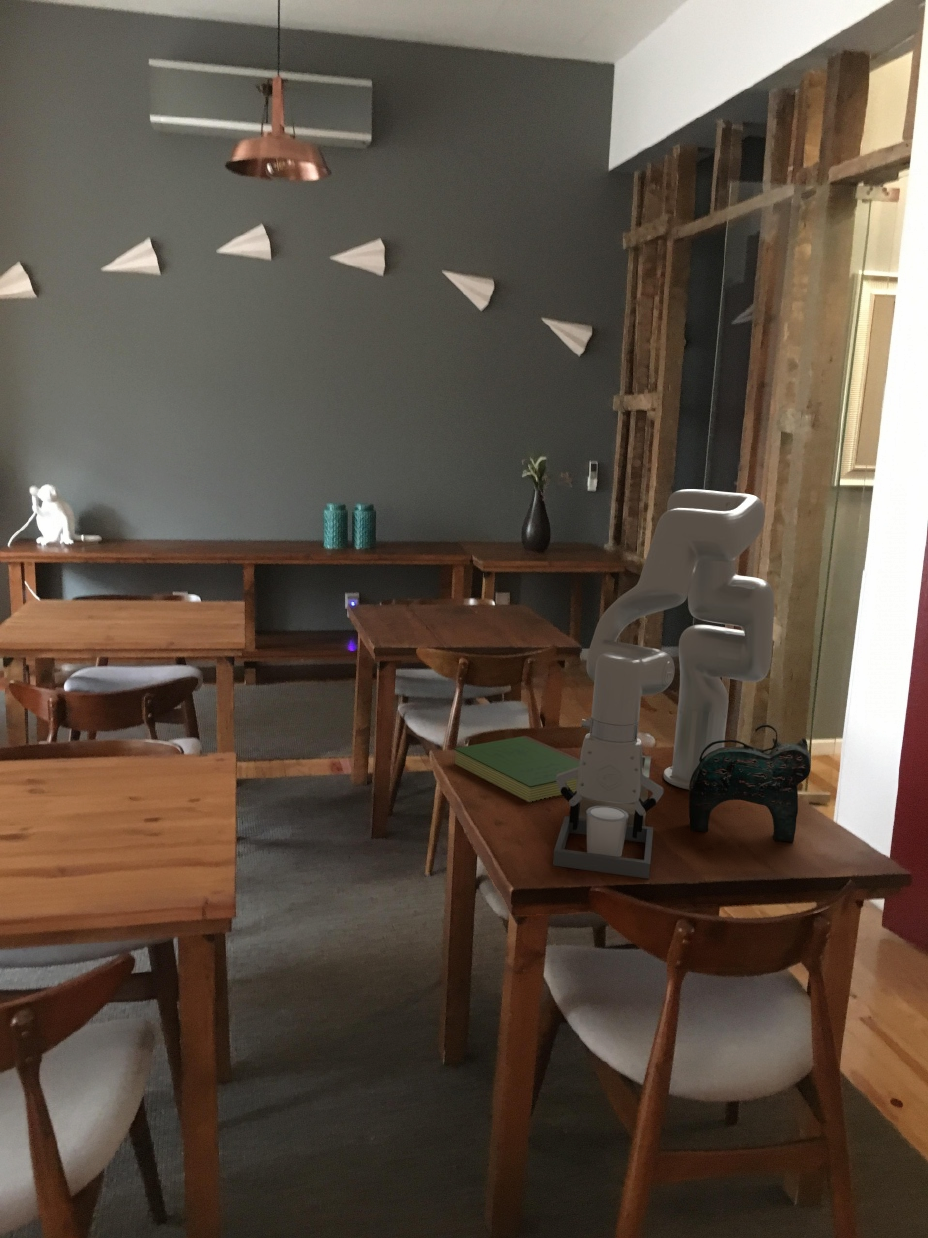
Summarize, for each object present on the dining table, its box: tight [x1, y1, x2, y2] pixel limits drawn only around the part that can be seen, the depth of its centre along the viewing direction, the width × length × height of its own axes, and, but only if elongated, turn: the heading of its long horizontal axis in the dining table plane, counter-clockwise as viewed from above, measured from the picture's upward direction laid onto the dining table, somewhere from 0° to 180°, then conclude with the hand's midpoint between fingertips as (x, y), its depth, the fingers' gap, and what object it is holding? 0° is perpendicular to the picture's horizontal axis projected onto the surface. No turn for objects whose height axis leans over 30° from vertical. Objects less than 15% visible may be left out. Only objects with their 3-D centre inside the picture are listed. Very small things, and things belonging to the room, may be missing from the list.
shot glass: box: [586, 806, 629, 857], centre depth 165 cm, size 7×7×7 cm
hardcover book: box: [453, 735, 580, 803], centre depth 201 cm, size 25×19×4 cm
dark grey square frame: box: [552, 815, 654, 880], centre depth 166 cm, size 15×15×2 cm
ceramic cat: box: [688, 724, 812, 843], centre depth 175 cm, size 20×6×20 cm, turn 78°
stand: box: [576, 755, 652, 826], centre depth 180 cm, size 12×12×10 cm
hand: (604, 831), depth 165 cm, fingers open, 9 cm apart
